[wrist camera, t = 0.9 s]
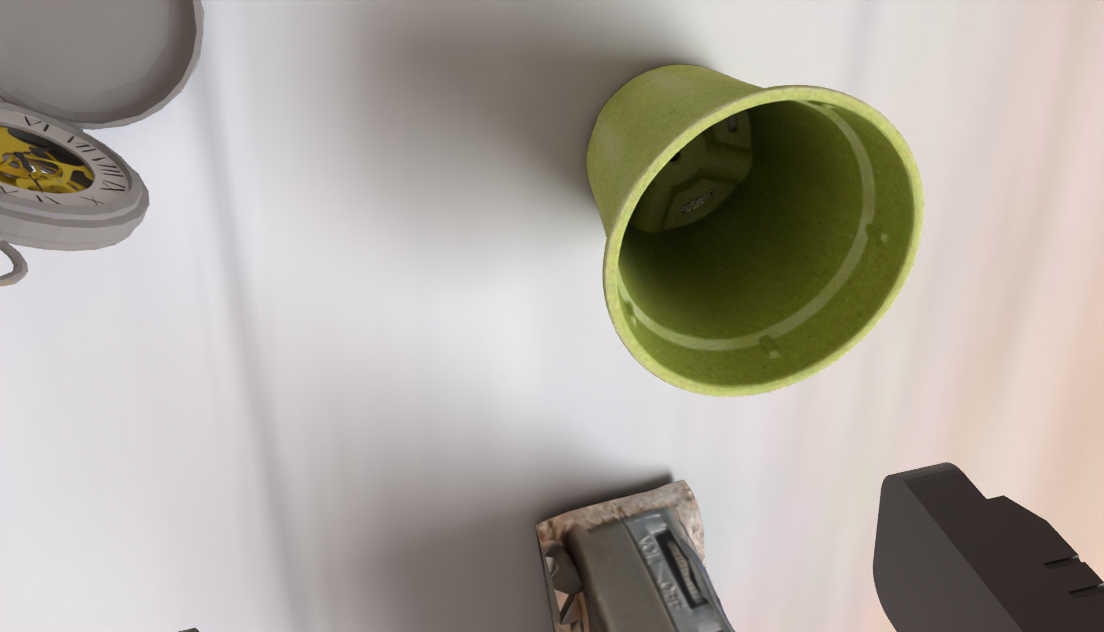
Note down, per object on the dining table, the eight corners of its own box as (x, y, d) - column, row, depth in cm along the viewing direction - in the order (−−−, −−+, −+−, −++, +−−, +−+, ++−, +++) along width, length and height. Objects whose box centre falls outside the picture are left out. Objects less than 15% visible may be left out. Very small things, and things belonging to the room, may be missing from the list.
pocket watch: (168, -134, 27) (119, -74, 19) (244, 154, 32) (231, 307, 23) (-155, -97, 26) (-364, -15, 18) (-30, 198, 30) (-149, 377, 22)
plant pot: (483, 118, 33) (541, 228, 26) (725, -49, 32) (857, 16, 25) (617, 311, 38) (698, 449, 30) (830, 171, 37) (966, 279, 30)
